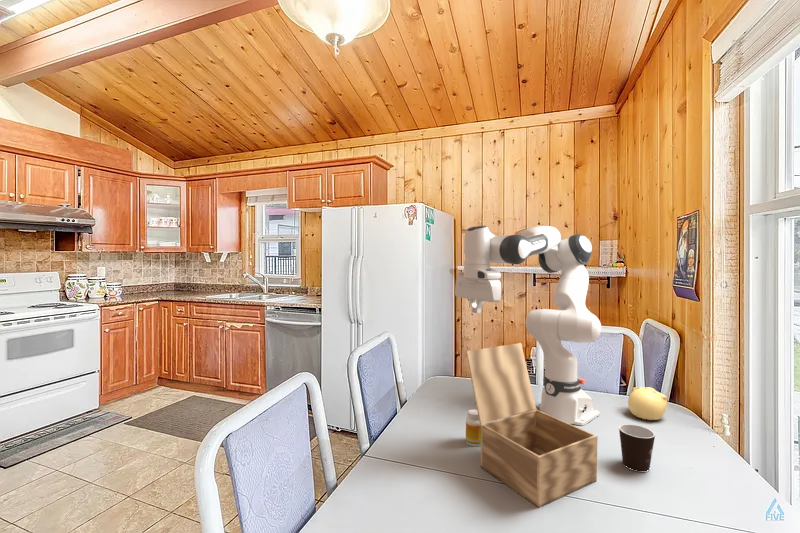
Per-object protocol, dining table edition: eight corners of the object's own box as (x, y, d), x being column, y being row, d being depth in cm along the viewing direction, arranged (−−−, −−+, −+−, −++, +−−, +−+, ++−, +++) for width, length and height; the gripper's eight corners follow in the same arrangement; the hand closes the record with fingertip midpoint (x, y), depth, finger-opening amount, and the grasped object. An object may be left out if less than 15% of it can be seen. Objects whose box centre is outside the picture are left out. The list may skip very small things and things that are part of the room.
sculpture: (671, 418, 141) (671, 389, 141) (656, 426, 134) (656, 395, 134) (637, 408, 151) (638, 380, 150) (621, 415, 144) (622, 386, 143)
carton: (535, 448, 119) (536, 409, 119) (596, 481, 102) (597, 435, 101) (480, 467, 108) (481, 424, 108) (538, 508, 91) (539, 457, 90)
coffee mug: (642, 477, 103) (643, 440, 103) (611, 462, 111) (612, 427, 111) (667, 467, 109) (668, 431, 108) (636, 453, 116) (637, 420, 116)
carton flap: (536, 408, 119) (534, 408, 119) (521, 342, 124) (519, 343, 124) (481, 424, 108) (479, 423, 108) (467, 351, 113) (465, 351, 113)
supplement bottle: (483, 447, 119) (483, 416, 119) (465, 445, 120) (465, 414, 120) (482, 439, 125) (483, 409, 124) (465, 437, 126) (466, 408, 125)
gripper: (451, 271, 141) (450, 309, 142) (490, 274, 124) (489, 317, 124) (464, 271, 145) (464, 308, 145) (504, 273, 127) (504, 316, 127)
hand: (476, 312), depth 134 cm, fingers closed
